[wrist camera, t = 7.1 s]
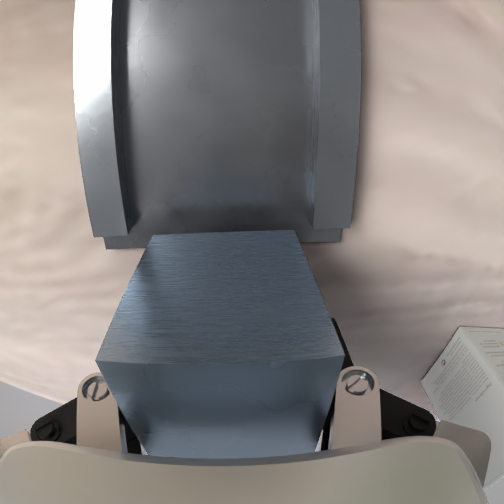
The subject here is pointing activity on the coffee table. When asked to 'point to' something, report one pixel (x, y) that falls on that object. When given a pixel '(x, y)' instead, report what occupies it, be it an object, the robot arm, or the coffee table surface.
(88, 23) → the dock
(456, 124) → the coffee table surface
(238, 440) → the block
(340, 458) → the robot arm
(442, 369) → the small box
